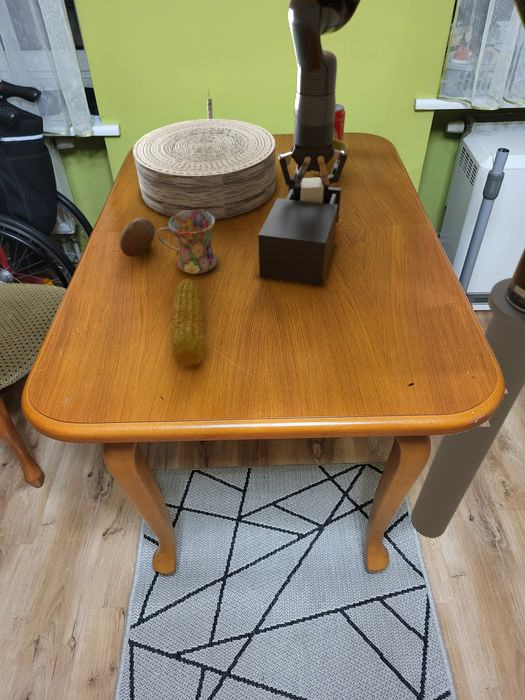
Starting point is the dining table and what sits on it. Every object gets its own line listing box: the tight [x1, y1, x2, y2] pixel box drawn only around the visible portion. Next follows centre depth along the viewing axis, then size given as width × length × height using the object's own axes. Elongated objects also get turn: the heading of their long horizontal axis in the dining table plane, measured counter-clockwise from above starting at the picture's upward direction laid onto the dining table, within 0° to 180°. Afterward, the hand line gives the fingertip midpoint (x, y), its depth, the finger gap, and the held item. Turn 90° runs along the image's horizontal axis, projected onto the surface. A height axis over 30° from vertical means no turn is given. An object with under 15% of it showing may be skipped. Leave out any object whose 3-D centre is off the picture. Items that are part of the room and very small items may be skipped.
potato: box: [119, 217, 156, 257], centre depth 101 cm, size 7×12×7 cm, turn 175°
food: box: [170, 278, 207, 368], centre depth 83 cm, size 21×6×6 cm, turn 9°
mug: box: [157, 210, 218, 275], centre depth 96 cm, size 11×9×10 cm
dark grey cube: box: [257, 198, 338, 287], centre depth 96 cm, size 15×13×10 cm
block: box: [300, 176, 324, 203], centre depth 100 cm, size 4×4×4 cm
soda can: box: [333, 103, 346, 142], centre depth 134 cm, size 6×6×12 cm
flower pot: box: [314, 139, 349, 177], centre depth 126 cm, size 10×10×7 cm
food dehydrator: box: [132, 88, 276, 220], centre depth 119 cm, size 38×34×18 cm
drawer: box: [285, 185, 342, 224], centre depth 104 cm, size 18×11×8 cm, turn 165°
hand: (310, 201), depth 101 cm, fingers closed on block, 4 cm apart
